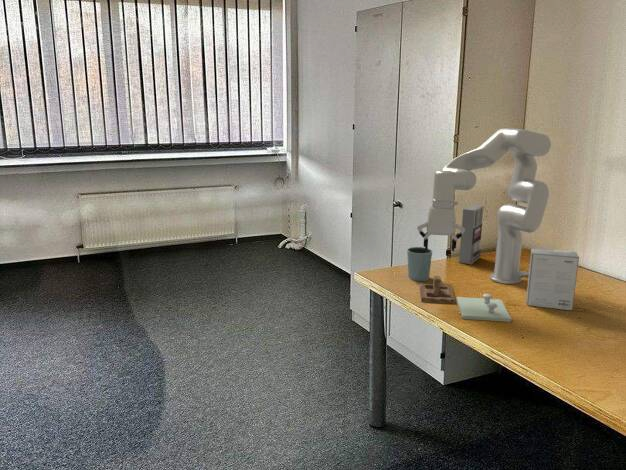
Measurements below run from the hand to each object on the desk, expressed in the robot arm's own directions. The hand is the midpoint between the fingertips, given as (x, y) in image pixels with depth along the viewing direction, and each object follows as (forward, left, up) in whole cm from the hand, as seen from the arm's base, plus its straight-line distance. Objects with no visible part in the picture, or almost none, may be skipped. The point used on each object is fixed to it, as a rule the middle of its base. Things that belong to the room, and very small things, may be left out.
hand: (439, 249), depth 205 cm
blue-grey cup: (+6, -20, -18) cm, 28 cm away
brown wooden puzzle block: (0, 0, -18) cm, 18 cm away
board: (-15, +13, -18) cm, 27 cm away
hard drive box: (-40, +3, -18) cm, 44 cm away
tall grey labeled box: (-19, -50, -18) cm, 57 cm away
